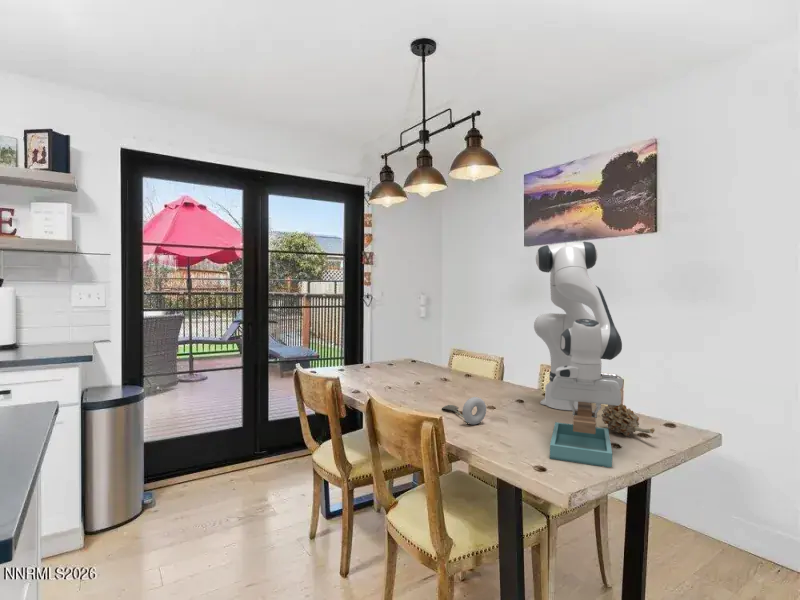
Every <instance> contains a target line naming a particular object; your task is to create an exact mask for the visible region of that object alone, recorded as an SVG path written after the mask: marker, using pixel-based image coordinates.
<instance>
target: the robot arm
mask: <svg viewBox="0 0 800 600" xmlns="http://www.w3.org/2000/svg"><path fill="white" fill-rule="evenodd" d="M597 261H598V251H597V249H596V246H595V244H594V243H593V242H591V241H582V242H581V241H580V242H577V241H576V242H575V241H573V242H571V241H570V242H568V241H567V242H563V243H557V244H556V243H555V244H551V245H550V244H549V245H548V244H545V245H542V246H540V247H539V248H538V249H537V252H536V255H535V262H536V265H537V267H538V270H540V271H541V272H543V273H550V278H549V281H550V282H549V283H550V300H551V303H552V304H553V305H555V306H556V307H558V308H561V309H562V311H564V312H565V313H551V312H550V313H544V314H543V313H542V314H539V315H538V316H537V317H536V318H535V320H534V322H533V323H534V324H533V329H534V331H535V334H536V335H537V337H539V338H540V339H541V340H542V341H543V342H544V343H545V344H546V346H547V349H548V350H549V357H550V371H549V375H548V376H549V382H548V383H547V384H545V390H544V391H545V393H544V394H545V395H544V398H543V399H542V400H540V402H539V404H540V405H543V406H546V407H549V408H552V409H556V410H561V411H572V416H574V415H577V413H578V402H586V403H592V404H595V407H596V408H595V409H594V410H592V417H595V419H597V415H598V414H597V413H598V412H599V411H600V409H601V408H602V405H607V406H608V405H615V406H619V405H620V404H622V393H621V389H622V388H623V385H624V380H623V378H622V377H621V376H620V375H618V374H616V373H613V374H612V373H606V372H602V360H610V361H611V360H614V359H615V358H616V357H618V356H619V355H620V353H621V352H622V349H623V343H622V338H621V335H620V333H619V331H618V330H617V327H616V326H615V323H614V321H613V317H612V315H611V312H610V310H609V306H608V304H607V301H606V298H605V296H604V293H603V291H602V290H601V288H600V287H599V286H597V285H595V283H593V281H592V280H591V278H590V277H589V274H588V270H591V269H593V267H594V266H595V265H596V263H597ZM583 305H585V306H586V307H588V308H589V309H590V310H591V311H592V312H593V315H594V316H593V315H591V314H590V313H589V311H587V310H586V309H585V307H584V306H583Z"/></svg>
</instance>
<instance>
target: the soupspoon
mask: <svg viewBox="0 0 800 600" xmlns="http://www.w3.org/2000/svg"><path fill="white" fill-rule="evenodd" d="M444 409H445V410H448V411H453V412H455V413H456V414H458V415H459V416H460V417H461V418H462V419H464V417H463V413H462V414H461V413H460V412H459V411H458V410H459V407H458V405H457V406H456V405H455V404H448V405H445V406H443V407H442V408H441V410H444ZM466 423H467V422H466V421H465V424H466Z"/></svg>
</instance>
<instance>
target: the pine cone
mask: <svg viewBox="0 0 800 600" xmlns="http://www.w3.org/2000/svg"><path fill="white" fill-rule="evenodd" d="M601 417H602V418H601V420H602V422H603V424H604V425H607V429H609V430H611V431H612V430H614V432H615V433H618V434H622V435H623V436H626V437H629V436H630V435H633V434H634V433H635V432H639V433H645V434H654V432H655V431H656V430H655V428H654V427H651V428H642V427H639V425H640V422H639V421H640V418H639V416H638V415H637V414H635V411H633V410H631V408H627V406H626V405H625V404H622V403H621V404H620V405H619V406H615V405H607V406H604V409H603V410H602V415H601Z"/></svg>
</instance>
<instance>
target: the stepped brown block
mask: <svg viewBox="0 0 800 600" xmlns="http://www.w3.org/2000/svg"><path fill="white" fill-rule="evenodd" d="M592 404H593V403H586V402H578V413H577V415H573V420H572V421H573V423H572V424H573V431H574V432H582V433H590V434H595V433H596V427H597V426H596V424H597V422H596V418H595V417H592V411H593V407H592V406H593V405H592Z"/></svg>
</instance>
